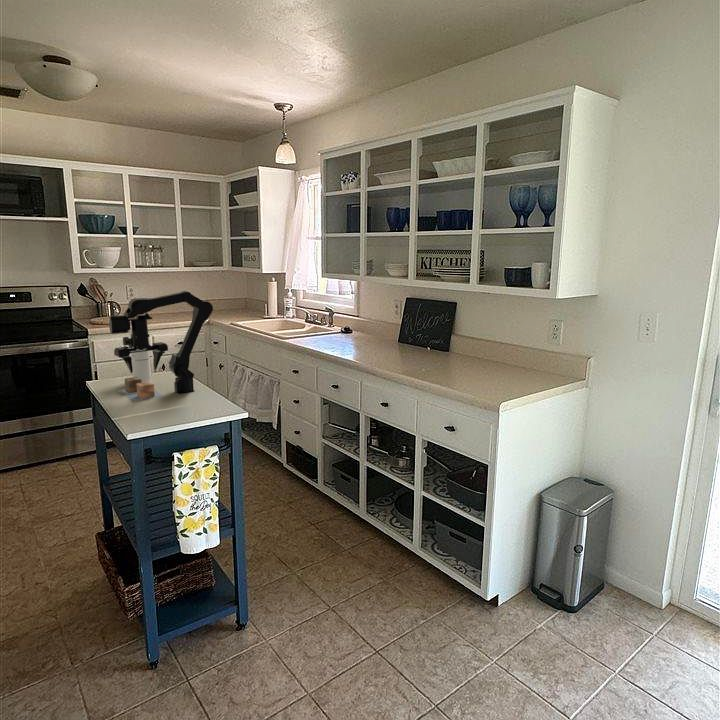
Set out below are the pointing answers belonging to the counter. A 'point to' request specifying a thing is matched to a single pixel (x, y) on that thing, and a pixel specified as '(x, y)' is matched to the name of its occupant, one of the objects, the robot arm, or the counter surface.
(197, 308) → the robot arm
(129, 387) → the walnut block
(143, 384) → the terracotta block
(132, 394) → the board
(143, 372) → the cylindrical container
